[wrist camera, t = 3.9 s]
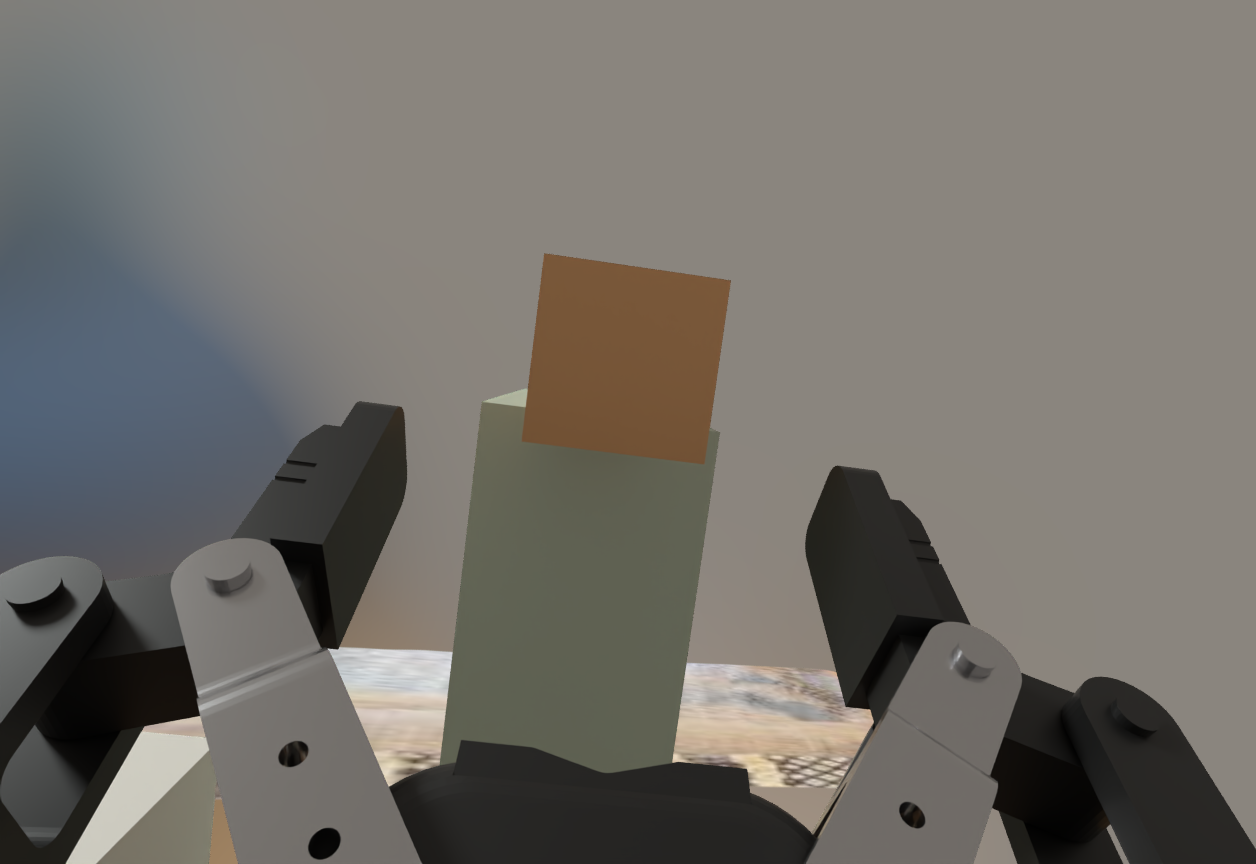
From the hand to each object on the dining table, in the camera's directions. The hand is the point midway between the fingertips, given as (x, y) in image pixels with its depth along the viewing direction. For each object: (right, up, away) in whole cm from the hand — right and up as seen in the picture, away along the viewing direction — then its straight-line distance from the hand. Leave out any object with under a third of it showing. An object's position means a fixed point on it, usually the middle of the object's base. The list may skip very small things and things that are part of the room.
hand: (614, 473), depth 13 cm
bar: (-1, +2, +13) cm, 13 cm away
